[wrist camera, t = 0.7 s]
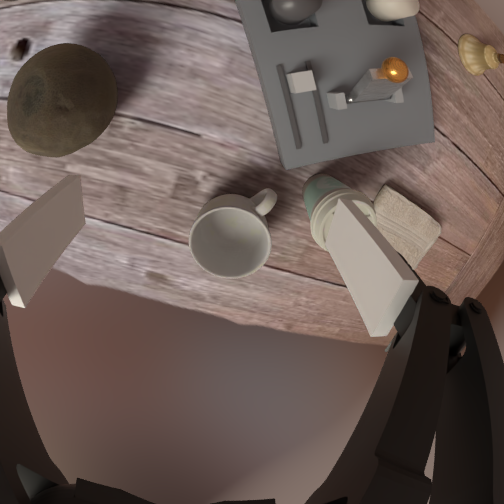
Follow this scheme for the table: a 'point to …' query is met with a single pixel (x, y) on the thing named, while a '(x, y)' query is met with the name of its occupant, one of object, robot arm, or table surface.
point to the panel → (337, 81)
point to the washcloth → (405, 225)
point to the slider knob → (301, 81)
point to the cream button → (392, 9)
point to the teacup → (233, 234)
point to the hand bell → (477, 55)
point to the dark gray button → (293, 10)
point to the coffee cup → (330, 204)
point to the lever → (380, 82)
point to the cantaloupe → (61, 100)
